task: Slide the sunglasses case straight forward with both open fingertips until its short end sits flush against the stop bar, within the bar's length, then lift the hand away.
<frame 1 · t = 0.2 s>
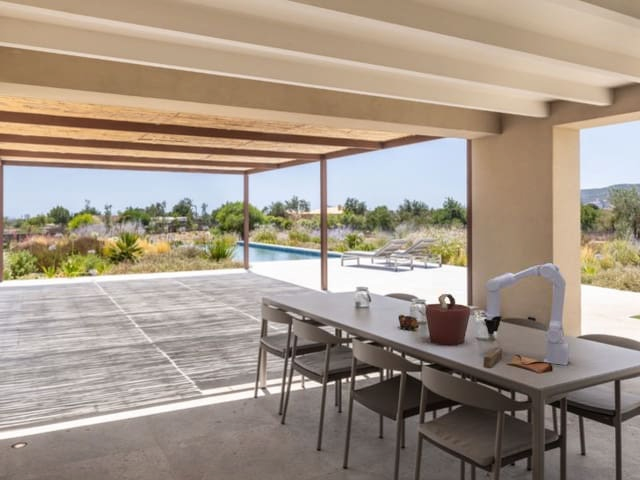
hand: (492, 332, 245), 10 cm above the table, tool pointing down, fingers open, 7 cm apart
decorative turtle: (408, 329, 302), on the table
sunglasses case: (528, 369, 222), on the table
bucket: (445, 342, 270), on the table
stop bar: (493, 362, 230), on the table
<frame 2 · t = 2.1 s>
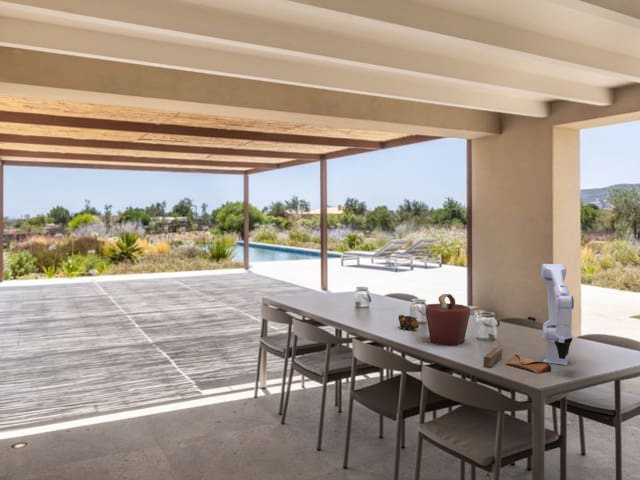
hand: (563, 356, 215), 7 cm above the table, tool pointing down, fingers open, 7 cm apart
nothing on the table moved.
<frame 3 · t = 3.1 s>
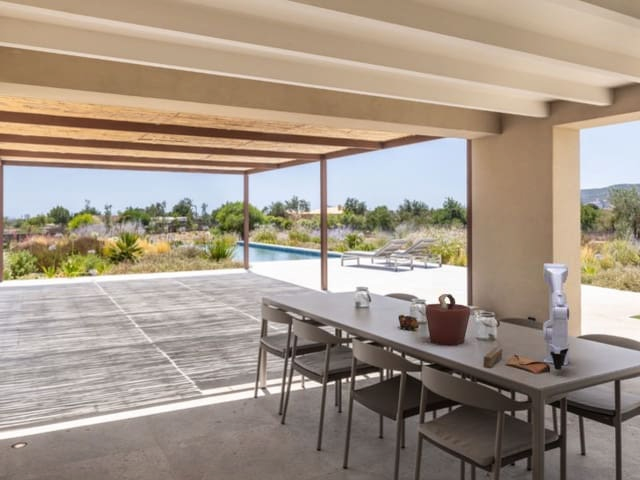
hand: (559, 367, 216), 2 cm above the table, tool pointing down, fingers open, 7 cm apart
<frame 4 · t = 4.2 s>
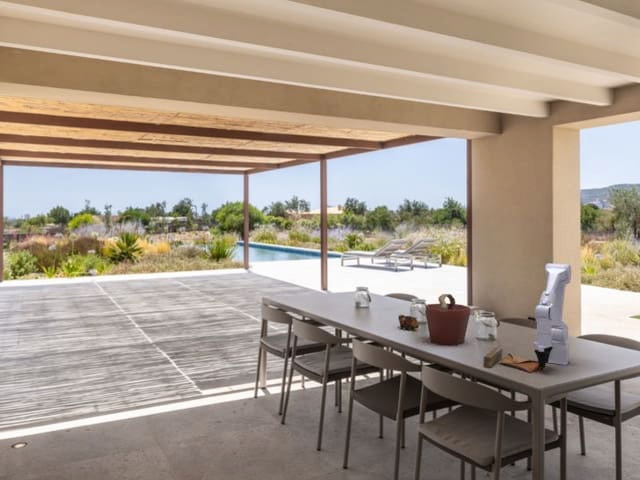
hand: (543, 365, 219), 2 cm above the table, tool pointing down, fingers open, 7 cm apart
sunglasses case: (519, 368, 223), on the table, touching gripper
everything else where it was.
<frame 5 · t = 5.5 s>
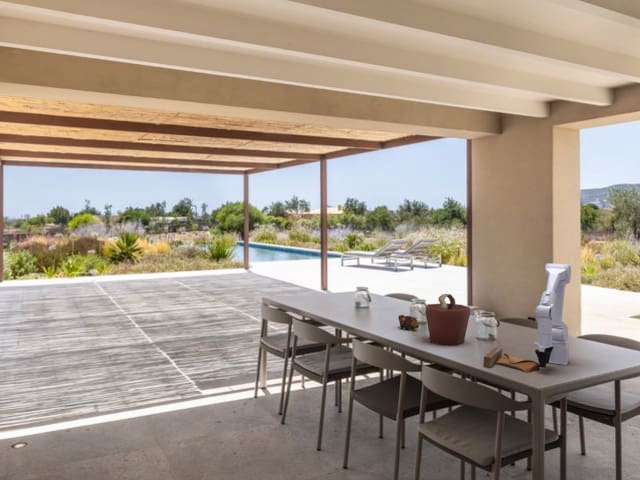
hand: (544, 365, 219), 2 cm above the table, tool pointing down, fingers open, 7 cm apart
sunglasses case: (515, 368, 224), on the table
everything else where it was.
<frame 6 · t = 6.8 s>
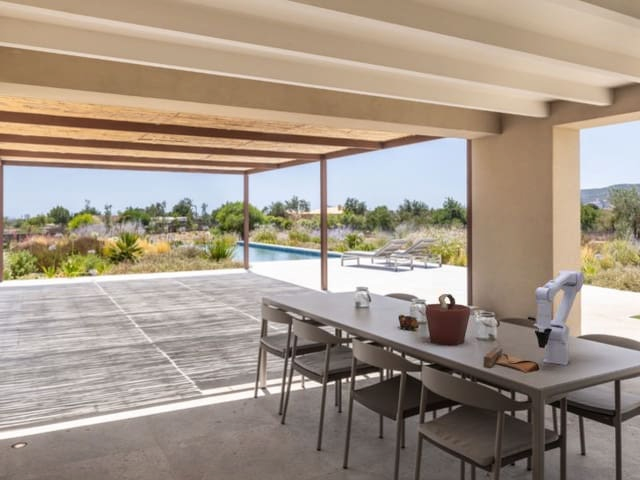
hand: (543, 346, 224), 9 cm above the table, tool pointing down, fingers open, 7 cm apart
nothing on the table moved.
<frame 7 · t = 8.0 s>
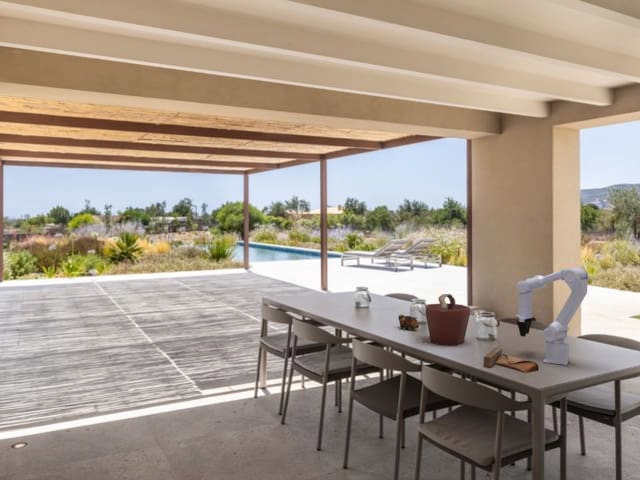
hand: (524, 334, 244), 9 cm above the table, tool pointing down, fingers open, 7 cm apart
nothing on the table moved.
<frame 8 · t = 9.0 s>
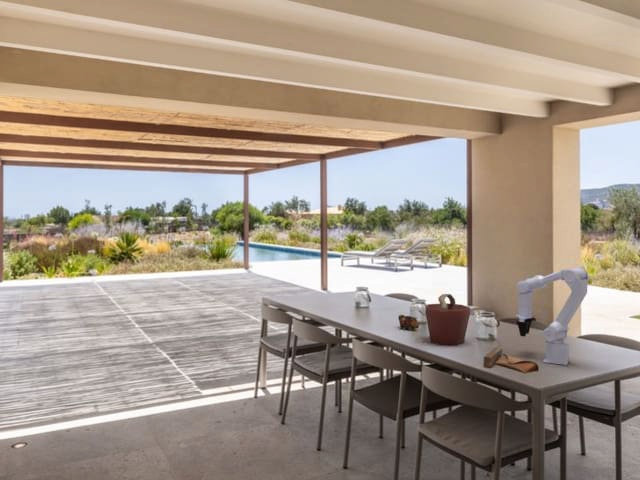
hand: (524, 334, 244), 9 cm above the table, tool pointing down, fingers open, 7 cm apart
at the end: sunglasses case 2.8 cm from the target spot on the table beside the stop bar, on the table; sunglasses case tilted 0° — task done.
